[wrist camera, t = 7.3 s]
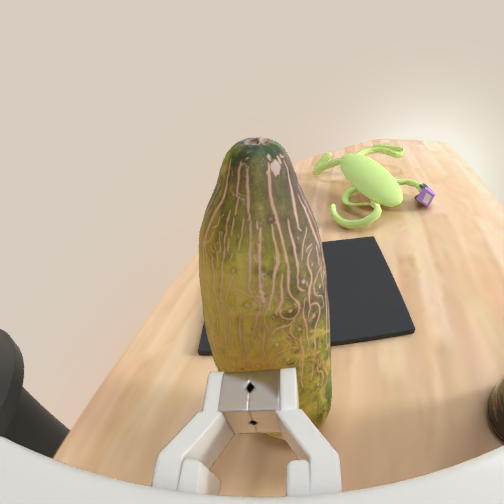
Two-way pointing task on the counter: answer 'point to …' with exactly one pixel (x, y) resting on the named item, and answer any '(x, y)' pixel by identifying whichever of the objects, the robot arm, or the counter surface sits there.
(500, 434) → the supplement container
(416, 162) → the counter surface
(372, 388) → the counter surface
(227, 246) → the vegetable
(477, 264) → the counter surface
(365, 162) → the figurine
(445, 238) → the counter surface
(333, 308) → the mat
